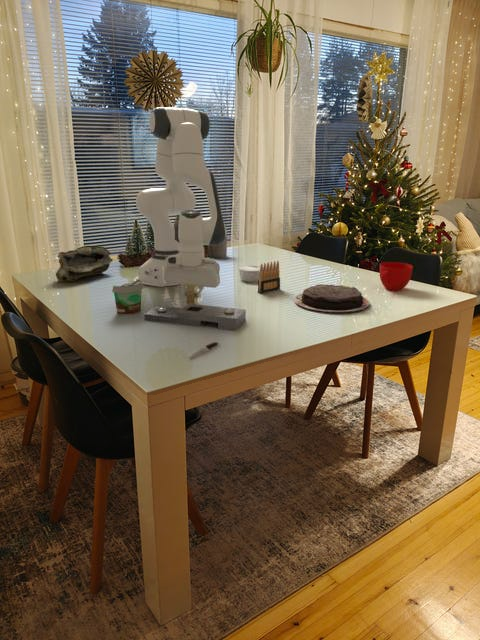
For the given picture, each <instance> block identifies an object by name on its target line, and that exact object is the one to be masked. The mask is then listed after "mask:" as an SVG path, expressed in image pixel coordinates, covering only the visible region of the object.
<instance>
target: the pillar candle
mask: <svg viewBox="0 0 480 640" xmlns="http://www.w3.org/2000/svg"><path fill="white" fill-rule="evenodd" d="M227 248H228V230H226V238H225V240H224V241H223V242H222V243H221V244H220V245H218V246H212V245H208V258H210V259H225V258H227V256H228V255H227V254H228V252H227V251H228V249H227Z"/></svg>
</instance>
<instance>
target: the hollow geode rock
mask: <svg viewBox="0 0 480 640" xmlns="http://www.w3.org/2000/svg"><path fill="white" fill-rule="evenodd" d="M110 255H111V252H110V251H109V250H108V249H106V247H104V246H92V245H85V246H83V245H82V246H81V247H78V248H76V249H73V250H68V251H67V252H65V251H61V252H58V256H57V258H59V260H58V263H59V268H58V270H57V272H55V276H56V280H57V281H58V282H62V283H67V282H71V283H75V282H77V280H78V279H80V278H82V277H83V278H87V277H91V276H95V275H101V274H103V273H104V272H106V271H107V270H109V267H110V264H111V263H112V262H113V258H111V256H110Z"/></svg>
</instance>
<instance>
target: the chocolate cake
mask: <svg viewBox="0 0 480 640" xmlns="http://www.w3.org/2000/svg"><path fill="white" fill-rule="evenodd" d="M362 295H363V293H362V292H361V291H360V290H359V289H357V288H356V287H355V286H352V287H351V286H348V285H347V286H346V285H342V284H341V285H335V284H332V283H331V284H316V285H313V286H309V287H307V288H306V289H303V292H302V293H299V294H296V295H295V296H294V297H293V301H294V303H295V304H296V305H297V306H299V307H302V308H304V309H306V311H313V312H314V311H315V312H321V313H322V312H323V313H324V314H334V315H335V314H336V315H337V314H339V315H340V314H341V315H342V314H343V315H344V314H352V313H354V312H359V313H360V312H362V311H363V310H365V309H366V310H367V309H368V307H369V306H370V303H371V302H370V300H368V299H367V298H366V297H364V296H362Z"/></svg>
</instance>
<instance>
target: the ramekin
mask: <svg viewBox="0 0 480 640" xmlns="http://www.w3.org/2000/svg"><path fill="white" fill-rule="evenodd" d="M260 266H261V265H241V266H240V267H238V271H239V277H240V279H241V281H243V282H247V283H258V280H259V274H260Z"/></svg>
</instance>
